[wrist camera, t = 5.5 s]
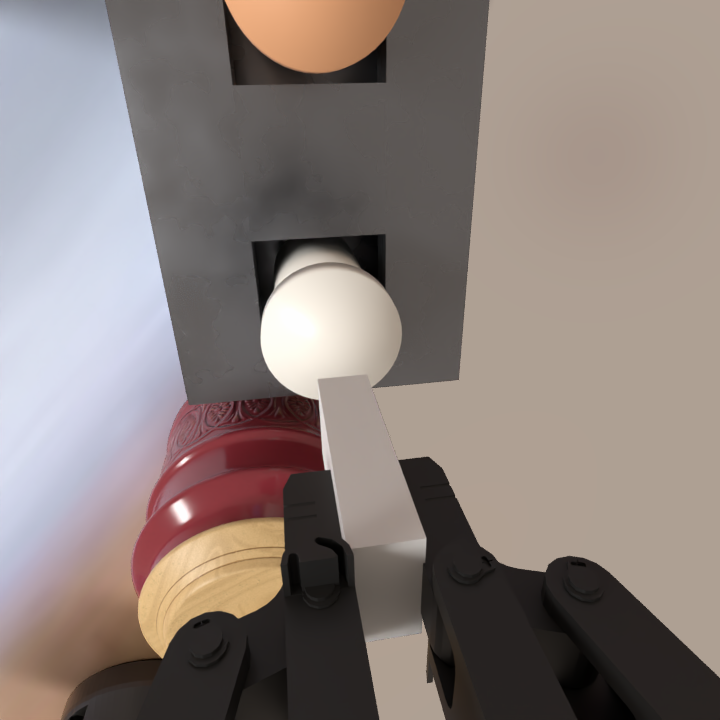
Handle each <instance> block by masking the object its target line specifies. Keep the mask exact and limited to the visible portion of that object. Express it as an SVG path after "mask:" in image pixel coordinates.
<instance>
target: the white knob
mask: <svg viewBox="0 0 720 720" xmlns="http://www.w3.org/2000/svg"><path fill="white" fill-rule="evenodd" d="M401 339H402V326H401V321H400V317H399V314H398V311H397V309H396V307H395V305H394V303H393V301H392V299H391V298H390V296H389V294H388V293H387V291H386V290H385V288H384V287H383V286H382V284H381V283H380V282H379V281H378V280H377V279H376V278H374V277H373V276H372V275H371V274H369V273H367V272H366V271H364V270H362V269H361V267H360V265H359V263H358V261H357V260H356V258H355V256H354V254H353V252H352V250H351V248H350V247H349V246H348V244H347V243H346V242H345V241H344V240H343V239H342V238H340V237H323V238H305V239H288V240H287V241H286V242H285V243H284V244H283V245H282V247H281V248H280V250H279V251H278V253H277V256H276V259H275V263H274V291H273V292H272V293H271V295H270V297H269V298H268V300H267V303H266V305H265V307H264V311H263V315H262V323H261V348H262V354H263V357H264V359H265V362H266V364H267V366H268V368H269V370H270V371H271V373H272V374H273V375H274V377H275V378H276V379H277V380H278V381H279V382H280V383H281V384H283V385H284V386H285V387H286V388H288V389H289V390H291V391H293V392H294V393H297V394H299V395H301V396H304V397H307V398H311V399H316V400H319V396H318V381H317V379H322V378H333V377H343V376H354V375H365V374H367V376H368V379H369V381H370V384H371V387H373V386H374V385H376V384H377V383H378V382H379V381H380V380H381V379H382V378H383V377H384V376H385V375H386V374H387V373H388V371H389V370H390V369H391V367H392V366H393V364H394V362H395V360H396V358H397V356H398V353H399V350H400V346H401Z"/></svg>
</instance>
